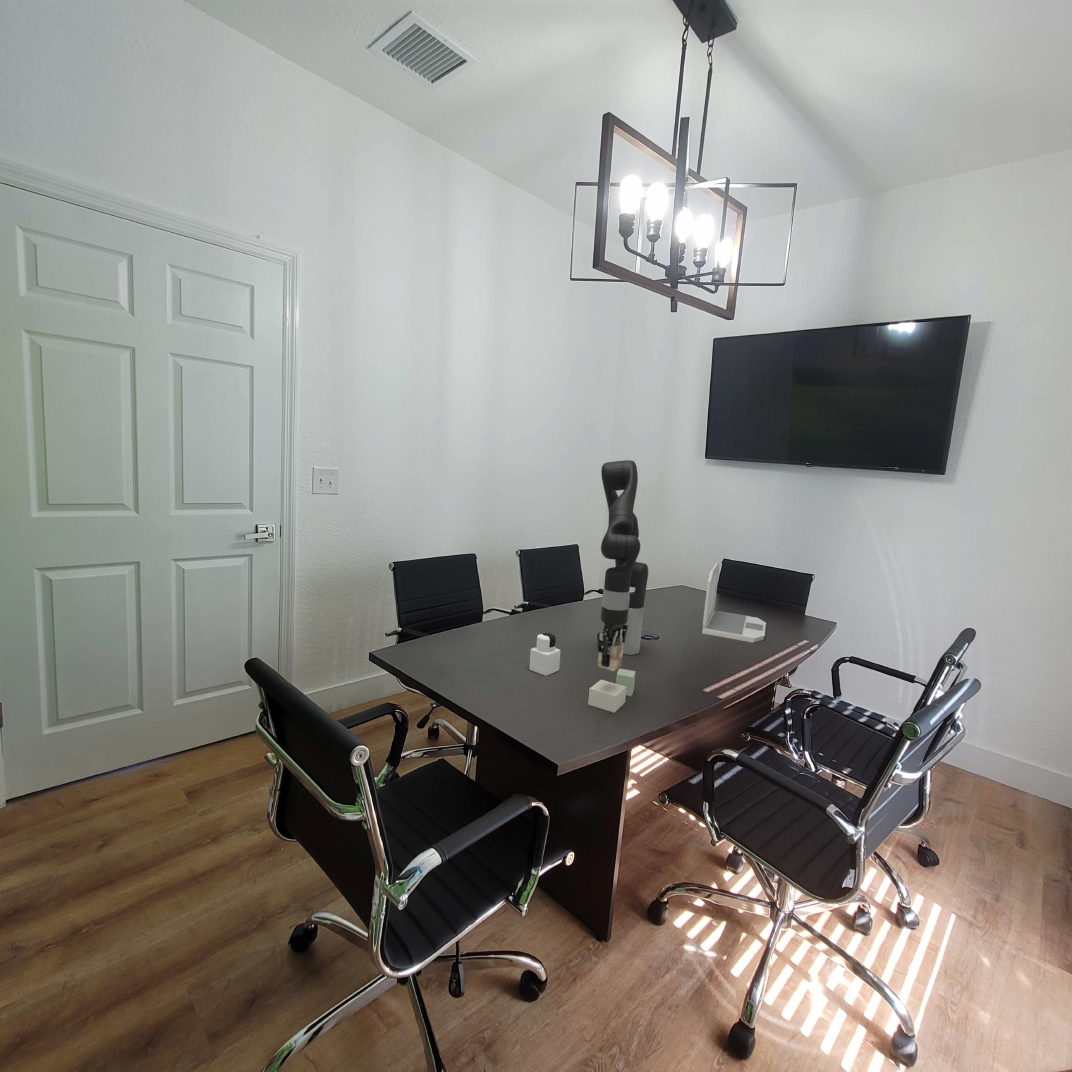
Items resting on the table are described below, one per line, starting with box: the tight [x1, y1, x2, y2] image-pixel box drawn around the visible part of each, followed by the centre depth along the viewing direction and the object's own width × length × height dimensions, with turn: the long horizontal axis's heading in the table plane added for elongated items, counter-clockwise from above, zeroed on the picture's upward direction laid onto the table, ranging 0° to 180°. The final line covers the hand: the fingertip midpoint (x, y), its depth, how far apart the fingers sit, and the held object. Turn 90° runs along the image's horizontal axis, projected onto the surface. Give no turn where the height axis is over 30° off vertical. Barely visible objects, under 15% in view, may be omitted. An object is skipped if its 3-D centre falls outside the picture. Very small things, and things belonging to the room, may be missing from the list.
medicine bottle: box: [528, 632, 561, 677], centre depth 176 cm, size 7×7×12 cm
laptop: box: [702, 562, 767, 643], centre depth 236 cm, size 33×24×26 cm
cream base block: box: [587, 679, 627, 713], centre depth 156 cm, size 8×8×5 cm
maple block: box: [597, 641, 624, 672], centre depth 154 cm, size 5×5×7 cm
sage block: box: [615, 668, 636, 697], centre depth 164 cm, size 5×5×6 cm
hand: (610, 663), depth 154 cm, fingers closed on maple block, 5 cm apart
